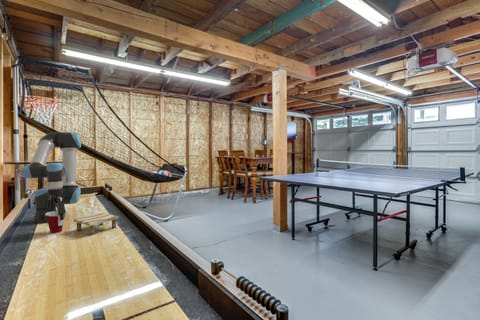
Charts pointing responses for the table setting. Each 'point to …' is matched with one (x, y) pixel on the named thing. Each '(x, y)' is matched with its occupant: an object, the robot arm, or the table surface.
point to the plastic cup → (53, 222)
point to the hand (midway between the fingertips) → (56, 223)
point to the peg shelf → (95, 221)
